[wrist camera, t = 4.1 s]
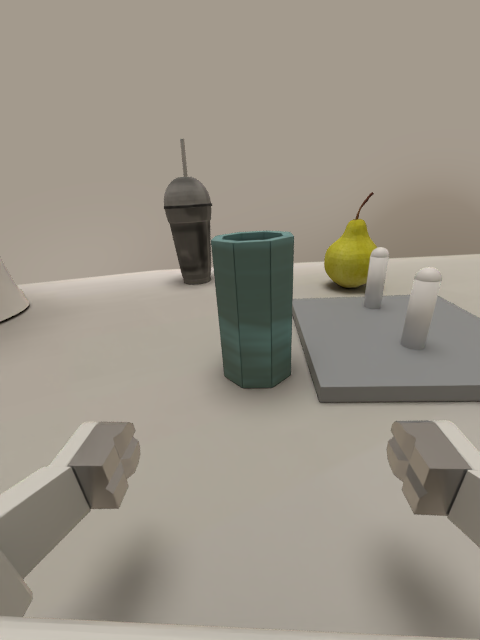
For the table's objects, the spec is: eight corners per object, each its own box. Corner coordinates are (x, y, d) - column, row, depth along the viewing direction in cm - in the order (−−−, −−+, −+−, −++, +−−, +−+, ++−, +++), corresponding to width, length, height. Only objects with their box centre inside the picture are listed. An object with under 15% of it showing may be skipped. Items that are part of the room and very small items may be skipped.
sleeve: (222, 388, 19) (206, 244, 15) (228, 351, 24) (218, 233, 20) (293, 387, 19) (297, 239, 15) (285, 350, 23) (287, 229, 19)
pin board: (319, 402, 17) (328, 296, 14) (290, 308, 32) (291, 246, 29) (591, 400, 16) (661, 284, 13) (432, 304, 31) (449, 238, 28)
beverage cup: (209, 272, 50) (196, 145, 42) (225, 281, 44) (213, 135, 36) (170, 279, 47) (148, 145, 39) (182, 289, 41) (158, 133, 33)
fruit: (326, 294, 36) (334, 194, 31) (319, 280, 42) (325, 195, 37) (382, 294, 35) (399, 190, 30) (366, 279, 41) (378, 191, 36)
